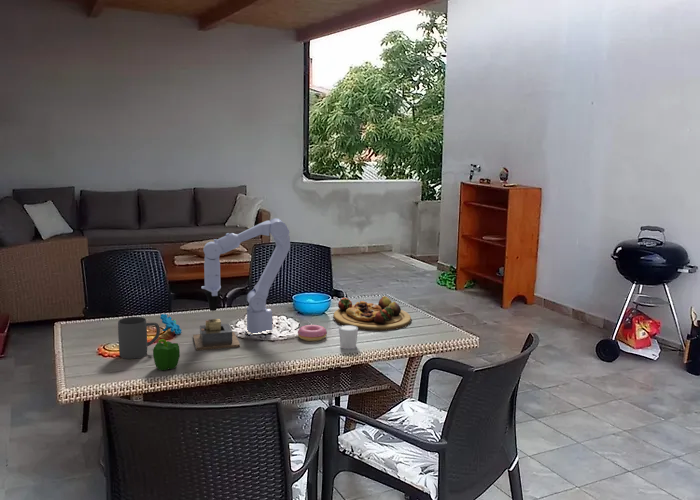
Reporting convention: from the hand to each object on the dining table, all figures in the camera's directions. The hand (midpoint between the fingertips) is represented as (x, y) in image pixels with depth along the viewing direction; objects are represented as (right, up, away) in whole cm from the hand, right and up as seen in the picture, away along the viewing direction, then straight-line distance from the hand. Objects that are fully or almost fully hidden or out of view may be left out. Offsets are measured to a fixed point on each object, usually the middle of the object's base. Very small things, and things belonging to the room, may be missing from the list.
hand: (213, 310), depth 241 cm
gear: (-16, -9, +2) cm, 19 cm away
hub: (+3, -11, -7) cm, 13 cm away
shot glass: (+50, -12, -8) cm, 52 cm away
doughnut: (+37, -11, +1) cm, 38 cm away
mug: (-20, -13, -20) cm, 31 cm away
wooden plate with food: (+60, -7, +26) cm, 66 cm away
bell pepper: (-8, -16, -33) cm, 37 cm away
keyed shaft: (+2, -10, -7) cm, 12 cm away
